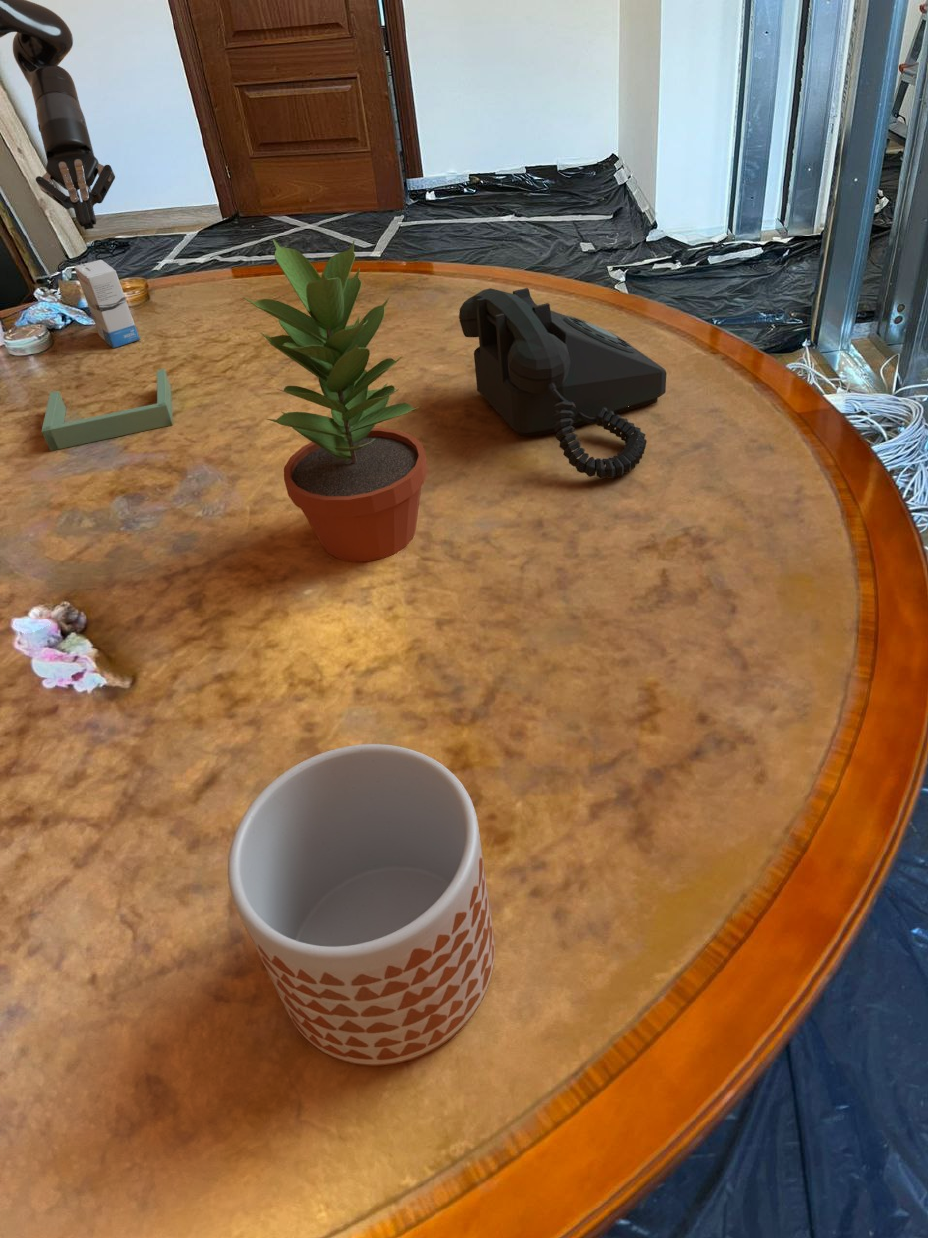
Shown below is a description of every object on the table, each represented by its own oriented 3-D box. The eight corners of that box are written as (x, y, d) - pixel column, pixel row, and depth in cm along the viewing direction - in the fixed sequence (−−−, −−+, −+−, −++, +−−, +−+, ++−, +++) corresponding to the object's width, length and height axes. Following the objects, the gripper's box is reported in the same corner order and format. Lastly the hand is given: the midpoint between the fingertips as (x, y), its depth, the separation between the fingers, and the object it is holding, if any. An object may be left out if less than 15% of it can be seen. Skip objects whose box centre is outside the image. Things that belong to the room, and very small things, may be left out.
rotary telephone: (732, 449, 98) (747, 320, 88) (560, 498, 93) (557, 368, 84) (599, 350, 123) (599, 240, 113) (458, 384, 118) (446, 274, 109)
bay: (58, 411, 125) (49, 391, 123) (171, 387, 127) (164, 368, 126) (50, 451, 115) (41, 431, 113) (173, 424, 118) (166, 404, 116)
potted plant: (415, 582, 84) (363, 272, 65) (279, 567, 89) (192, 271, 70) (460, 501, 95) (426, 214, 76) (336, 491, 99) (274, 217, 80)
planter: (293, 874, 60) (245, 754, 52) (487, 854, 59) (470, 730, 51) (269, 1081, 49) (204, 970, 41) (505, 1057, 49) (487, 941, 41)
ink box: (141, 340, 144) (116, 268, 136) (112, 349, 142) (85, 276, 135) (126, 327, 150) (101, 257, 142) (98, 335, 148) (72, 265, 140)
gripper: (110, 139, 149) (133, 231, 148) (32, 152, 147) (55, 245, 146) (97, 109, 142) (122, 206, 140) (15, 122, 140) (39, 220, 138)
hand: (87, 226), depth 143 cm, fingers closed
